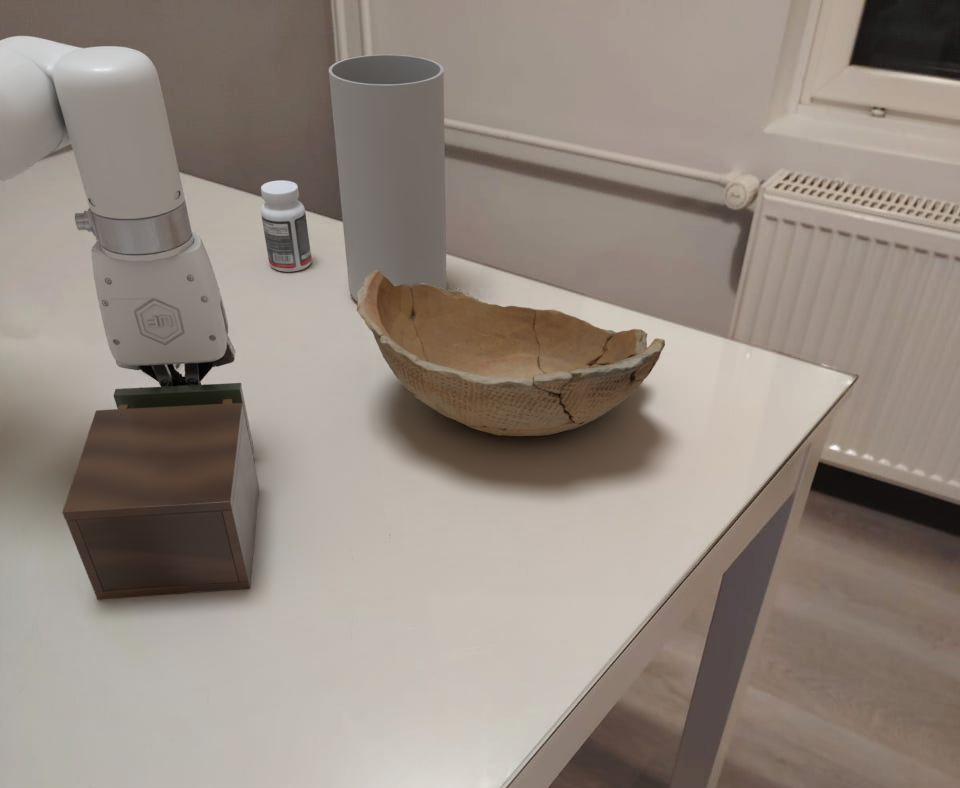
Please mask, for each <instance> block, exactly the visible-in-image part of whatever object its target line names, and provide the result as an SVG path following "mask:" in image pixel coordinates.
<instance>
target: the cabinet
mask: <svg viewBox="0 0 960 788" xmlns="http://www.w3.org/2000/svg"><path fill="white" fill-rule="evenodd" d="M255 465H256V464H255V461H254V454H253V455H252V450H251V445H250V440H249V435H248V430H247V425H246V420H245V415H244V410H243V405H242V403H230V404H211V405H191V406H172V407H152V408H133V409H117V408H116V409H115V408H114V409H113V408H112V409H97V410H95V412H94V416H93V417H92V422H91V424H90V428H89V430H88V434H87V436H86V440H85V443H84V445H83V448H82V452H81V454H80V458H79V461H78V463H77V467H76V470H75V473H74V475H73V479H72V481H71V484H70V488H69V491H68V493H67V497H66V501H65V503H64V506H63V509H62V512H61V513H62V515H63V518H64V519H65V522H66V525H67V527H68V529H69V532H70V535H71V537H72V540H73V542H74V545H75V547H76V550H77V552H78V555H79V557H80V559H81V562H82V564H83V567H84V570H85V572H86V575H87V578H88V580H89V582H90V585H91V587H92V590H93V592H94V595H95V598H96V600H104V599H105V600H106V599H119V598H120V599H121V598H133V597H147V596H162V595H176V594H188V593H203V592H218V591H230V590H231V591H233V590H246V589H247V590H248V589H251V583H252V573H253V572H252V570H253V561H254V560H253V558H254V547H255V536H256V524H257V513H258V511H257V510H258V500H259V489H260V485H259V481H258V480H259V479H258V475H257V471H256V466H255Z"/></svg>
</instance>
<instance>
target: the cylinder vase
mask: <svg viewBox="0 0 960 788" xmlns="http://www.w3.org/2000/svg"><path fill="white" fill-rule="evenodd" d="M444 69H445V68H444V66H443V65H441V64H440V63H439V62H437V61H434V60H432V59H429V58H426V57H420V56H414V55H408V54H407V55H406V54H369V55H361V56H354V57H349V58H345V59H342V60H339V61H336V62H334V63H333V64H332V65H330V67H328V79H329V89H330V101H331V109H332V119H333V121H332V122H333V132H334V142H335V154H336V163H337V165H336V166H337V175H338V184H339V185H338V186H339V196H340V206H341V216H342V217H341V218H342V227H343V238H344V248H345V249H344V250H345V260H346V271H347V282H348V291H349V293H350V296H352V298H353V300H355V301H356V302H357V303H358V299H357V292H358V291H359V289H360V286H361V284H362V283H363V282H364V279H365V277H366V276H367V275H368V274H369V273H371V272H373V271H375V270H379V271H380V272H381V273H382V275H383V276H384V277H386V278H387V279H388V280H389V281H390V282H391V283H392V284H393V285H402V284H405V285H409V286H411V285H416V284H421V283H428V284H429V285H431V286H435V287H439V288H444V289H447V282H448V281H447V223H446V222H447V219H446V218H447V217H446V215H447V212H446V211H447V210H446V151H445V144H446V143H445V78H444V77H445V76H444V74H445V71H444Z"/></svg>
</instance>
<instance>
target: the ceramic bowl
mask: <svg viewBox="0 0 960 788" xmlns="http://www.w3.org/2000/svg"><path fill="white" fill-rule="evenodd" d="M357 299H358V302H357V305H356V311H357V313H358V315H359V316H360V318H361V319H362V320H363V321H364V323H365V325H366V327H367V328H368V330H369V331H371V332H372V334H373V337H374V340H375V342H376V344H377V346H378V349H379V351H380V353H381V355H382V357H383V359H384V361H385V362H386V364H387V365H388V367H389V368H390V370H391V372H392V373H393V374H394V376H395V377H396V378H397V380H399V381H400V382H401V384H402V386H403V387H404V388H405V389H407V390H408V391H409V392H410V393H411V394H413V396H414V398H416V399H417V400H419V401H420V402H422V403H423V404H425V405H426V406H428V407H429V408H431V409H433V410H434V411H436V412H437V413H439V414H440V415H442V416H444V417H446V418H448V419H451V420H453V421H456V422H458V423H460V424H462V425H465V426H466V427H468V428H471V429H474V430H477V431H480V432H483V433H488V434H491V435H495V436H499V437H501V436H507V437H541V436H550V435H555V434H559V433H561V432H565V431H571V430H575V429H578V428H580V427H582V426H584V425H587V424H589V423H591V422H593V421H595V420H598V419H599V418H600V417H601V418H602V416H603V415H604V414H606V413H608V412H609V411H611V410H612V409H614V408H615V407H617V406H619V405H620V404H622V403H623V402H624V401H625V400H626V399H627V398H628V397H629V396H630V395H631V394H632V393H634V392H635V391H636V390H637V388H639V386H640V385H641V384H642V383H644V381H645V380H646V379H647V378H648V376H649V375H650V374H651V372H652V371H653V369H654V368H655V366H656V364H657V362H658V361H659V359H660V357H661V354H662V352H663V350H664V348H665V346H666V340H665V339H663V338H654V339H653V341H652V342H651V343H650V344H649V346H648V345H647V344H648V342H647V338H648V333H647V332H645V330H644V329H640V328H639V329H638V328H632V329H629V330H621V331H617V332H616V331H615V330H612V329H604V328H600V327H598V326H595V325H593V324H592V323H590V322H588V321H587V320H583V319H580V318H578V317H577V316H573V315H570V314H567V313H564V312H562V311H560V310H556V309H553V308H552V309H535V308H532V307H526V306H525V307H524V306H517V305H508V306H502V305H499V304H494V303H493V304H492V303H487V302H484V301H482V300H480V299H478V298H476V297H474V296H471V295H467V294H466V293H464V292H462V291H461V290H460V289H452V290H451V289H447V288H446V289H444V288H439V287H435V286H431V285H429V284H428V283H421V284H416V285H411V286H409V285H405V284H402V285H393V284H392V283H391V282H390V281H389V280H388V279H387V278H386V277H384V276H383V275H382V273H381V272H380V271H379V270H375V271H373V272H371V273H369V274H368V275H367V276H366V277H365V279H364V282H363V283H362V284H361V286H360V289H359V291H358V292H357Z"/></svg>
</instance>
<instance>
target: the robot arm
mask: <svg viewBox="0 0 960 788" xmlns="http://www.w3.org/2000/svg"><path fill="white" fill-rule="evenodd" d="M69 145H71V149H72V152H73V156H74V159H75V162H76V166H77V169H78V172H79V177H80V180H81V183H82V186H83V190H84V194H85V197H86V201H87V204H88V209H87V210H83V212H75V213H74V221H75V226H76V228H77V230H78V231H87V232H88V233H92V234H93V236H94V238H95V240H96V242H95V243H94V244H93V246H92V247H91V263H92V273H93V279H94V280H93V281H94V285H95V291H96V296H97V301H98V306H99V311H100V315H101V321H102V325H103V329H104V333H105V337H106V341H107V344H108V348H109V350H110V353H111V355H112V357H113V359H114V360H115V364H116V366H118V367H119V368H122V369H127V370H133V371H142V372H143V373H144V374H146V375H148V376H149V377H150V378H151V379H153V380H155V381H156V382H158V385H159V387H165V386H186V385H202V381H203V379H204V378H205V377H206V376H207V375H208V374H209V372H210V371H211V370H212V369H213V368H215V367H221V366H225V365H228V364H232V363H234V362H235V358H236V348H235V347H234V345H233V343H232V340H231V338H230V336H229V324H228V318H227V313H226V309H225V305H224V301H223V296H222V294H221V290H220V287H219V284H218V280H217V277H216V274H215V270H214V268H213V265H212V262H211V260H210V256H209V254H208V252H207V249H206V246H205V244H204V242H203V239H202V237H201V236H200V234H199V233H198V232H195V231H193V230H192V226H191V222H190V216H189V211H188V208H187V207H188V206H187V203H186V199H185V198H186V197H185V192H184V188H183V184H182V179H181V174H180V169H179V164H178V160H177V155H176V151H175V150H176V149H175V146H174V142H173V137H172V132H171V128H170V121H169V118H168V114H167V109H166V104H165V100H164V95H163V90H162V85H161V81H160V77H159V73H158V71H157V68H156V66H155V65H154V63H153V62H152V60H151V59H150V58H149V57H148V56H147V55H146V54H145V53H143V52H141V51H140V50H137V49H134V48H130V47H126V46H118V45H117V46H116V45H101V46H90V47H80V46H74V45H70V44H66V43H63V42H58V41H54V40H49V39H45V38H41V37H37V36H32V35H31V36H30V35H15V36H9V37H7V38H6V37H5V38H3V39H0V182H5V181H9V180H12V179H13V180H14V179H15V178H16V177H18V176H19V175H22V174H23V173H24V172H26V171H27V170H29V169H30V168H32V167H33V166H34V165H36V164H37V163H38V162H40V161H41V160H42V159H44V158H45V157H47V156H48V155H50V154H52V153H55V152H57V151H59V150H61V149H63V148H65V147H67V146H69ZM175 364H177V365H183V367H184V376H183V375H182V373H180V372H179V371H178V370H177V366H176V367H175Z"/></svg>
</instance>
